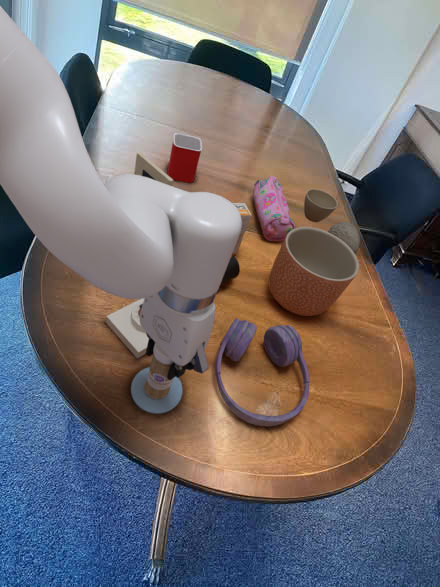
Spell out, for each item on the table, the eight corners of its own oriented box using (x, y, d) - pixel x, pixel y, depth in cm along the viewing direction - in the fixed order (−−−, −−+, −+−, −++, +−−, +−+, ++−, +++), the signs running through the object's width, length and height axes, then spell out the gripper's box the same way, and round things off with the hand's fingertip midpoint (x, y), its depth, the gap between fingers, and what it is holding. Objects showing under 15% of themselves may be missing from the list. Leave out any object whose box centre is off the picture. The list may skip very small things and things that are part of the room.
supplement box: (230, 243, 101) (245, 202, 92) (236, 256, 98) (252, 214, 89) (200, 243, 98) (213, 201, 89) (206, 256, 95) (219, 214, 86)
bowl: (319, 208, 126) (329, 190, 121) (331, 228, 120) (343, 209, 114) (292, 206, 122) (302, 187, 117) (304, 226, 116) (314, 207, 111)
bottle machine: (118, 252, 88) (124, 193, 77) (88, 222, 92) (90, 162, 81) (162, 235, 96) (173, 180, 85) (133, 208, 100) (140, 151, 89)
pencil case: (248, 196, 119) (258, 170, 113) (276, 202, 121) (287, 177, 115) (256, 241, 105) (268, 214, 98) (288, 247, 107) (301, 221, 101)
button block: (137, 359, 71) (139, 346, 68) (105, 322, 74) (106, 309, 72) (185, 329, 78) (189, 317, 76) (154, 297, 82) (157, 285, 79)
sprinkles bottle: (142, 398, 66) (153, 356, 56) (145, 375, 69) (156, 330, 59) (169, 401, 67) (184, 359, 57) (170, 378, 70) (185, 334, 60)
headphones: (211, 327, 80) (210, 426, 69) (221, 307, 73) (222, 413, 62) (292, 338, 84) (304, 433, 73) (309, 319, 77) (325, 421, 66)
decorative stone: (315, 240, 113) (330, 212, 106) (340, 244, 115) (357, 217, 108) (324, 264, 106) (342, 237, 99) (351, 268, 108) (370, 241, 101)
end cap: (203, 300, 85) (210, 279, 80) (183, 279, 88) (189, 257, 83) (234, 284, 91) (243, 264, 86) (215, 265, 94) (223, 244, 89)
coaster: (152, 424, 64) (153, 423, 63) (120, 384, 67) (120, 383, 67) (192, 394, 69) (192, 393, 69) (160, 359, 72) (160, 357, 72)
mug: (194, 184, 115) (202, 152, 108) (166, 179, 113) (173, 145, 106) (193, 163, 123) (200, 132, 116) (167, 158, 121) (173, 125, 114)
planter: (333, 293, 99) (364, 249, 88) (318, 338, 87) (352, 293, 76) (273, 263, 101) (297, 216, 90) (251, 302, 89) (275, 254, 78)
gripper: (123, 255, 49) (113, 337, 62) (212, 346, 44) (181, 416, 56) (167, 237, 54) (150, 317, 67) (254, 317, 48) (216, 388, 61)
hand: (164, 361), depth 62 cm, fingers closed on sprinkles bottle, 4 cm apart
